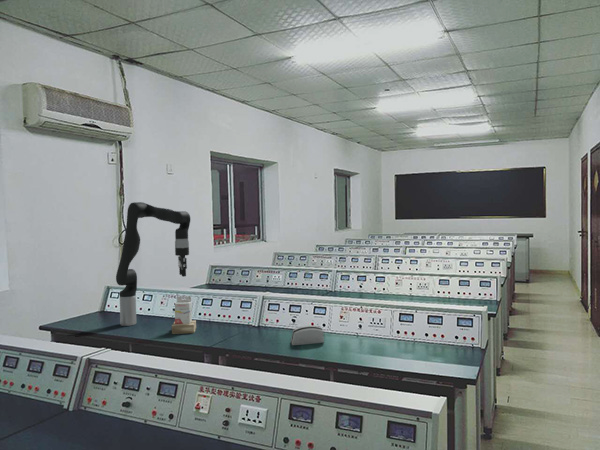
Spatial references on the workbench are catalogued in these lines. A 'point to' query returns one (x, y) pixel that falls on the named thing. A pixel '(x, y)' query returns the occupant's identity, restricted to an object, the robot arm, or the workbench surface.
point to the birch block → (184, 328)
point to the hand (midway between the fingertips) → (182, 275)
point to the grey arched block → (307, 335)
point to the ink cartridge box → (183, 310)
